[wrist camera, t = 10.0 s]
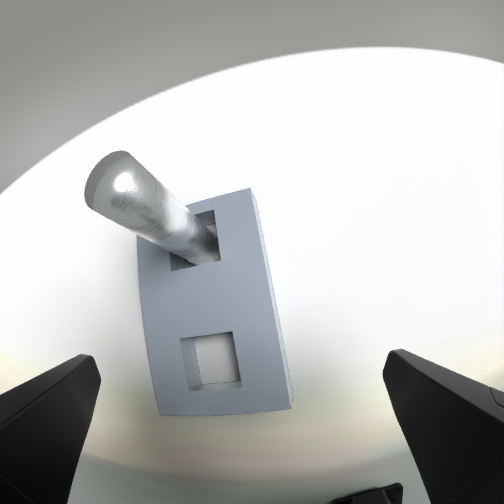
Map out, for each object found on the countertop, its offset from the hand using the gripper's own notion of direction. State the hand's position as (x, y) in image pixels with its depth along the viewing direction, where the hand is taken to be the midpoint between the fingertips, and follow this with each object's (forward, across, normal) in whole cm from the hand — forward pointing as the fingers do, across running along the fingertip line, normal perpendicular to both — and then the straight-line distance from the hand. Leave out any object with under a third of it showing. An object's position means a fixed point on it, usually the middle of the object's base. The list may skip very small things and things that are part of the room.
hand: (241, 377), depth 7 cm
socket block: (+13, +2, +5) cm, 14 cm away
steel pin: (+16, +3, +1) cm, 16 cm away
